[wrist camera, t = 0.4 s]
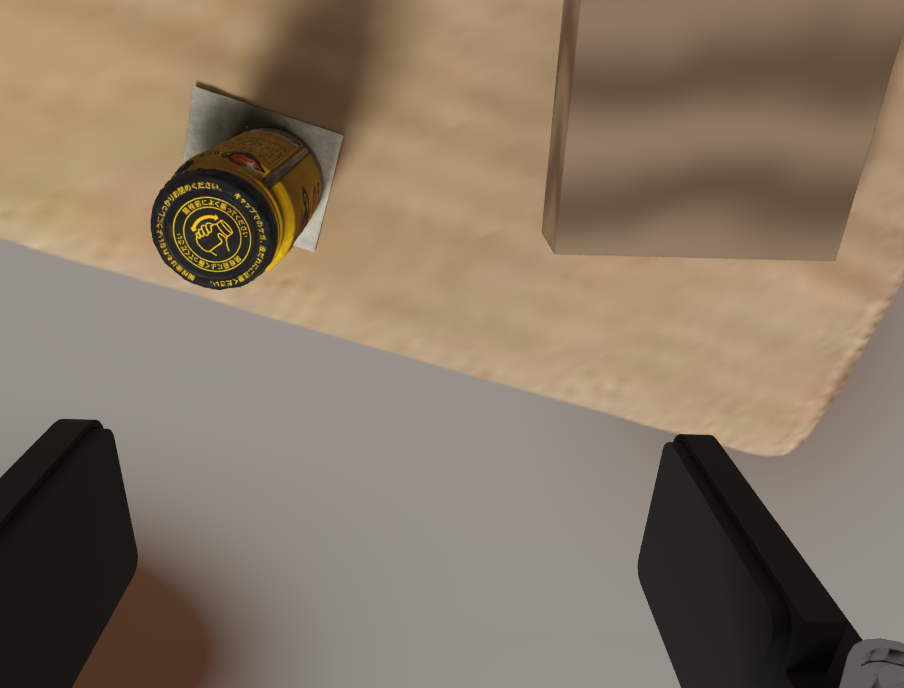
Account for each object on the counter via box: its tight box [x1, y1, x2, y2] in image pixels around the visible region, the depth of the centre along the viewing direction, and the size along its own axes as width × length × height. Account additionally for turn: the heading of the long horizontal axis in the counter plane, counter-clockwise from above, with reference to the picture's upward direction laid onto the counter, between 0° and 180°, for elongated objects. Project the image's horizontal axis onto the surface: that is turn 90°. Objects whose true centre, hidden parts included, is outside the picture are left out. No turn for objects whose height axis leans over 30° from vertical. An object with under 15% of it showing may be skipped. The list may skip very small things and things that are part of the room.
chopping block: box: [542, 0, 904, 261], centre depth 34 cm, size 20×16×5 cm
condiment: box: [151, 86, 344, 290], centre depth 32 cm, size 7×8×12 cm
